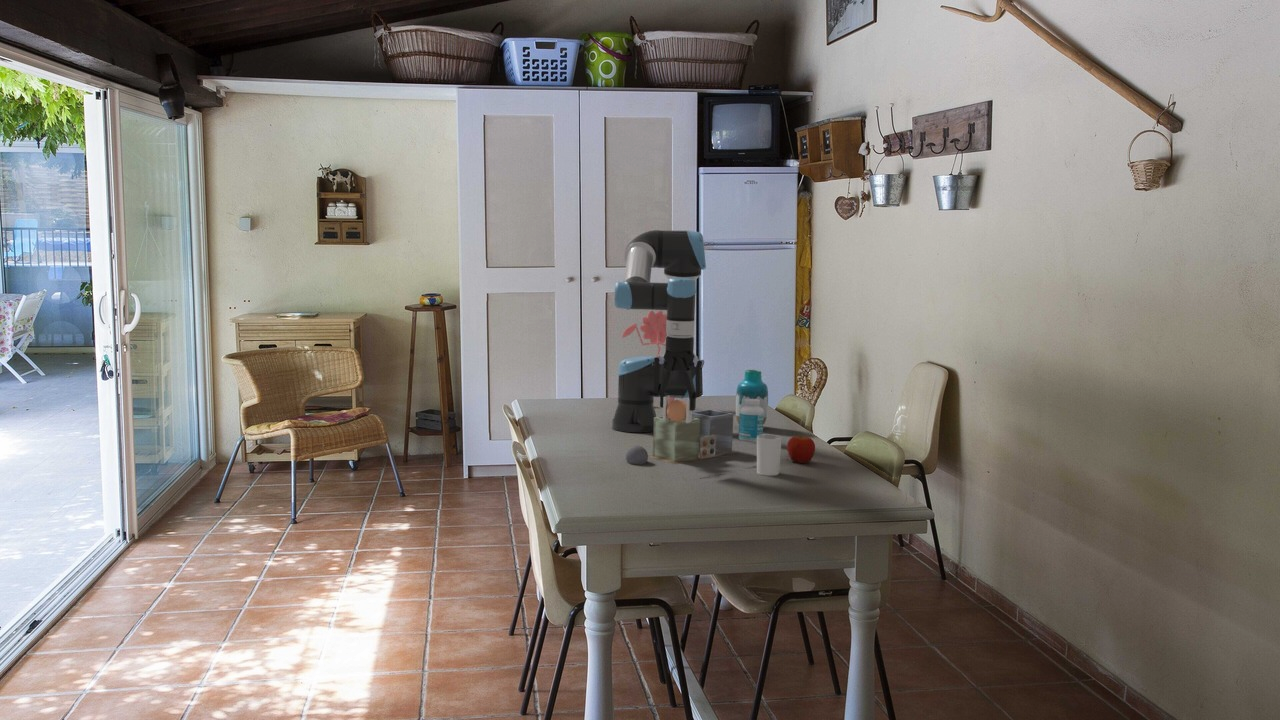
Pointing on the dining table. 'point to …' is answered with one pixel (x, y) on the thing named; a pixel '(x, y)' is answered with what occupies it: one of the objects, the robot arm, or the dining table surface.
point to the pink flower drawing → (652, 330)
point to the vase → (752, 392)
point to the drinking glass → (768, 454)
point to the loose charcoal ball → (636, 455)
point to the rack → (693, 437)
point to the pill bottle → (751, 420)
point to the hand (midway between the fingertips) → (677, 420)
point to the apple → (801, 449)
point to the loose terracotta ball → (676, 410)
